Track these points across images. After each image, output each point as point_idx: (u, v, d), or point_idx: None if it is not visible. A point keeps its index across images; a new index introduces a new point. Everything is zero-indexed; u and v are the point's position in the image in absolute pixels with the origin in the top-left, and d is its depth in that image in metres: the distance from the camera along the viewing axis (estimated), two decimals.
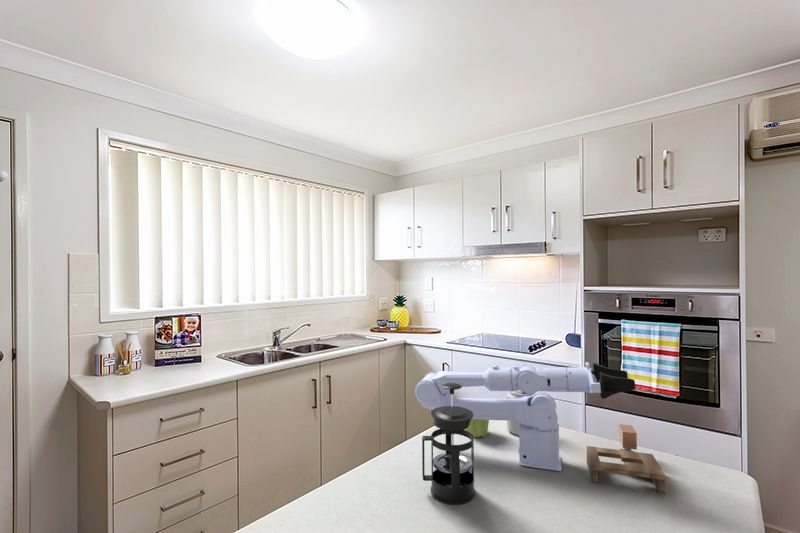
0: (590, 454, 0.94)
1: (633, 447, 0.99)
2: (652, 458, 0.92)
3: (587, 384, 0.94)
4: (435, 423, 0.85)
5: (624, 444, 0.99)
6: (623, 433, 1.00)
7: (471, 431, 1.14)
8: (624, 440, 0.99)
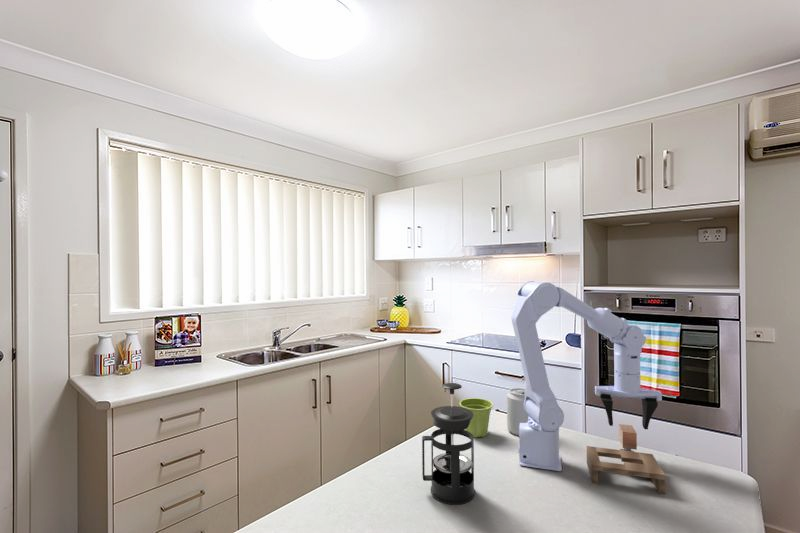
0: (590, 454, 0.94)
1: (633, 447, 0.99)
2: (652, 458, 0.92)
3: (640, 389, 1.00)
4: (435, 423, 0.85)
5: (624, 444, 0.99)
6: (623, 433, 1.00)
7: (471, 431, 1.14)
8: (624, 440, 0.99)
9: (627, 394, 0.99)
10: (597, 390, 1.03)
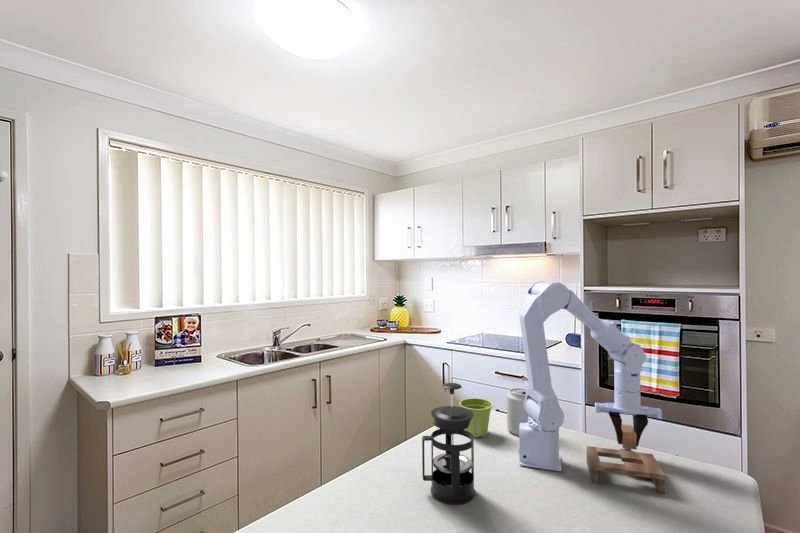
0: (590, 454, 0.94)
1: (633, 447, 0.99)
2: (652, 458, 0.92)
3: None
4: (435, 423, 0.85)
5: (624, 444, 0.99)
6: (623, 433, 1.00)
7: (471, 431, 1.14)
8: (624, 440, 0.99)
9: (627, 412, 0.99)
10: (597, 407, 1.03)
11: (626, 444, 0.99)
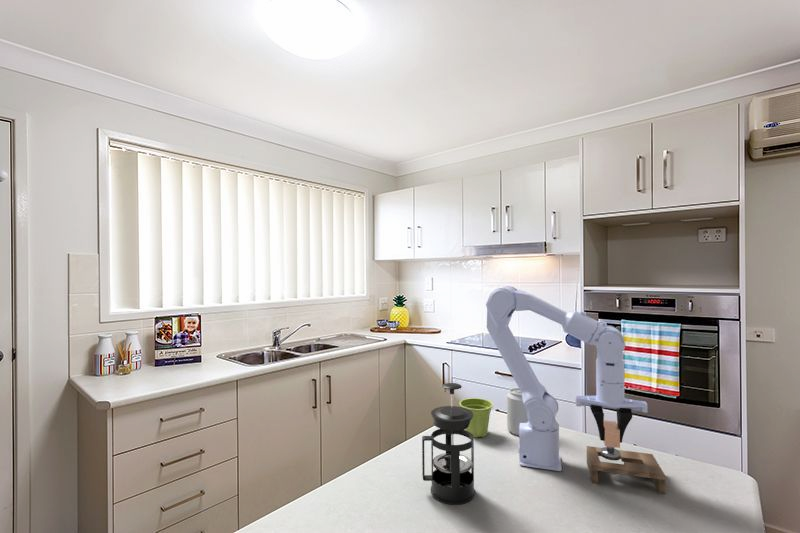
0: (590, 454, 0.94)
1: (616, 445, 0.90)
2: (652, 458, 0.92)
3: (624, 400, 0.91)
4: (435, 423, 0.85)
5: (606, 442, 0.91)
6: (605, 430, 0.91)
7: (471, 431, 1.14)
8: (606, 437, 0.91)
9: (609, 405, 0.90)
10: (577, 400, 0.94)
11: (608, 442, 0.91)
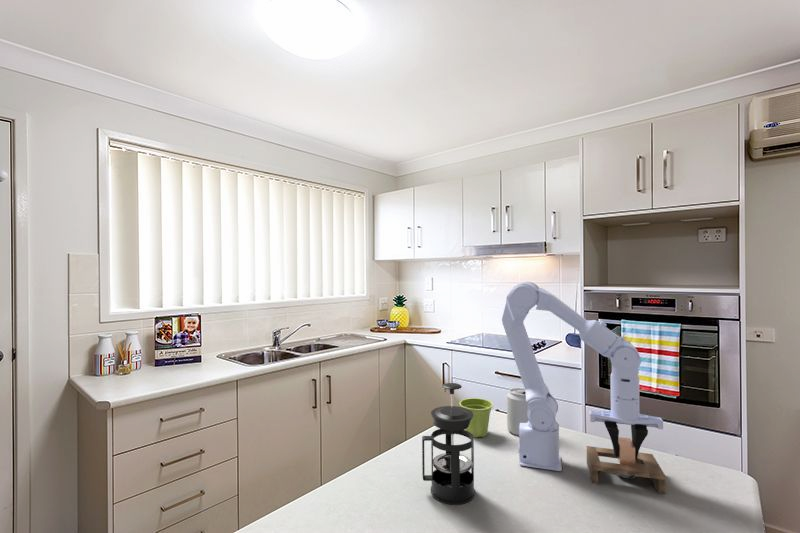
0: (590, 454, 0.94)
1: (631, 463, 0.89)
2: (652, 458, 0.92)
3: (639, 416, 0.91)
4: (435, 423, 0.85)
5: (621, 460, 0.90)
6: (620, 447, 0.90)
7: (471, 431, 1.14)
8: (621, 455, 0.90)
9: (625, 421, 0.89)
10: (591, 416, 0.93)
11: (624, 460, 0.90)
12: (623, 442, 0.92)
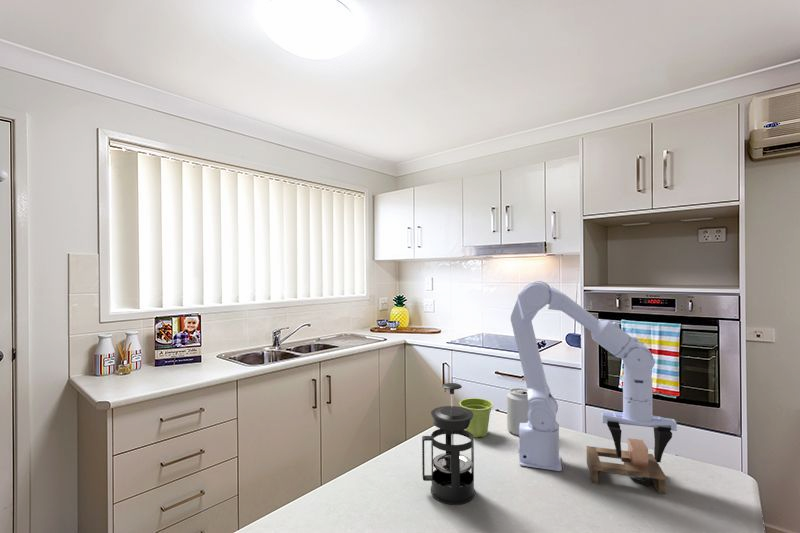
0: (590, 454, 0.94)
1: (644, 465, 0.88)
2: (652, 458, 0.92)
3: (652, 417, 0.90)
4: (435, 423, 0.85)
5: (634, 461, 0.89)
6: (633, 449, 0.89)
7: (471, 431, 1.14)
8: (634, 457, 0.89)
9: (638, 423, 0.88)
10: (604, 417, 0.92)
11: (636, 461, 0.89)
12: (636, 444, 0.91)
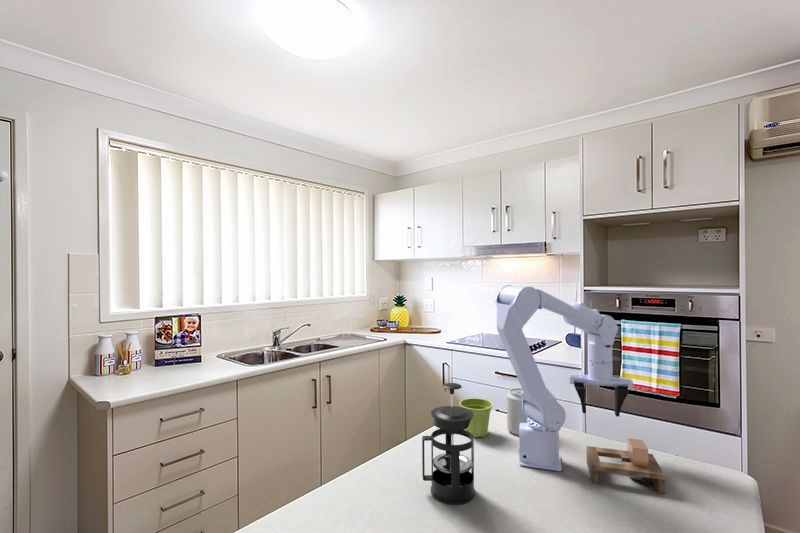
0: (590, 454, 0.94)
1: (644, 465, 0.88)
2: (652, 458, 0.92)
3: (612, 378, 1.03)
4: (435, 423, 0.85)
5: (634, 461, 0.89)
6: (633, 449, 0.89)
7: (471, 431, 1.14)
8: (634, 457, 0.89)
9: (599, 382, 1.02)
10: (571, 379, 1.06)
11: (636, 461, 0.89)
12: (636, 444, 0.91)
